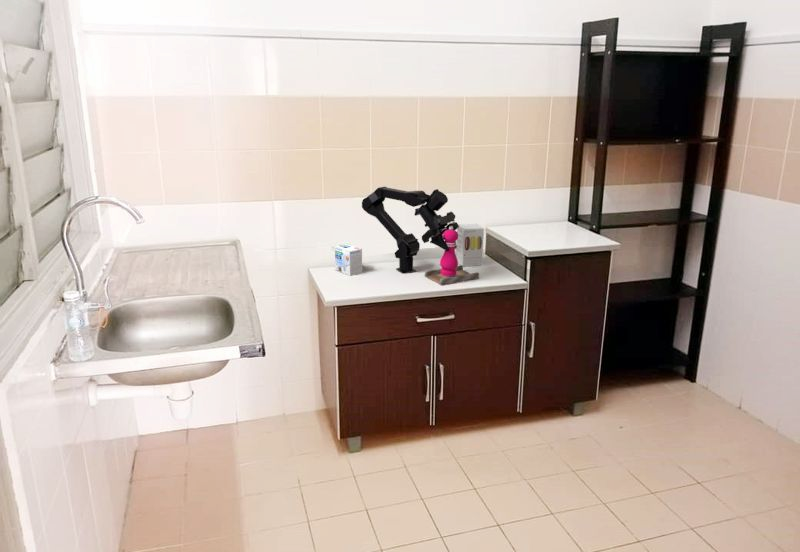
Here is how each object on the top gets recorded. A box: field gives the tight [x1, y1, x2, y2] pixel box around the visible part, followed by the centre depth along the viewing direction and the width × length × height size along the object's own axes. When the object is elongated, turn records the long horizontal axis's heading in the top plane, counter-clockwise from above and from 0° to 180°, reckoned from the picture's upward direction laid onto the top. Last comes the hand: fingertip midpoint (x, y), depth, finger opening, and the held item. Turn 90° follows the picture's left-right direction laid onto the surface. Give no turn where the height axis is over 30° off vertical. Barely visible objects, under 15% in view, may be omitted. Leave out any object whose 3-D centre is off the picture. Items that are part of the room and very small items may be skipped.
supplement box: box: [455, 223, 485, 267], centre depth 273 cm, size 10×9×17 cm
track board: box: [424, 264, 480, 286], centre depth 255 cm, size 18×13×2 cm
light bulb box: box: [334, 243, 363, 277], centre depth 261 cm, size 11×7×11 cm, turn 42°
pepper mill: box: [439, 226, 459, 276], centre depth 247 cm, size 7×7×20 cm
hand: (452, 249), depth 246 cm, fingers closed on pepper mill, 5 cm apart
